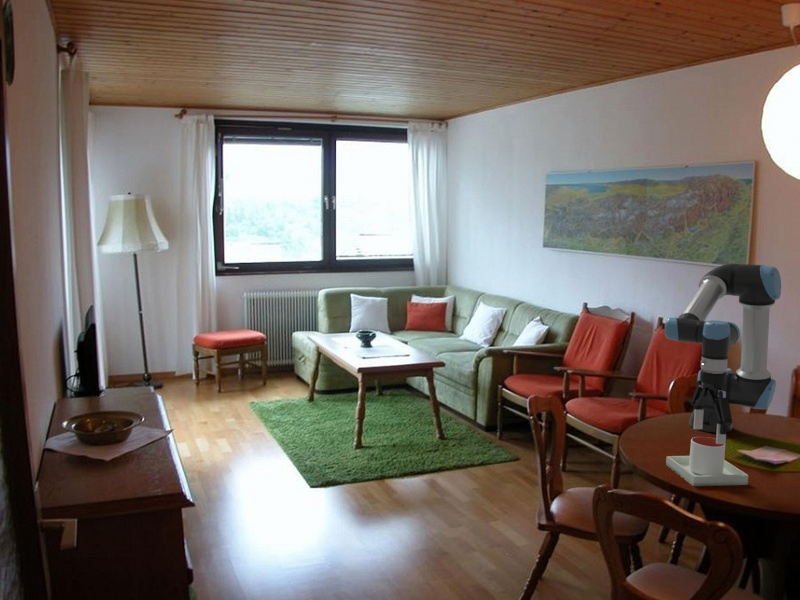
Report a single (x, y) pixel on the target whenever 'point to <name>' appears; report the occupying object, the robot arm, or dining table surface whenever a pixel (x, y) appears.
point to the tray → (728, 476)
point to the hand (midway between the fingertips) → (708, 436)
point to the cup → (706, 456)
